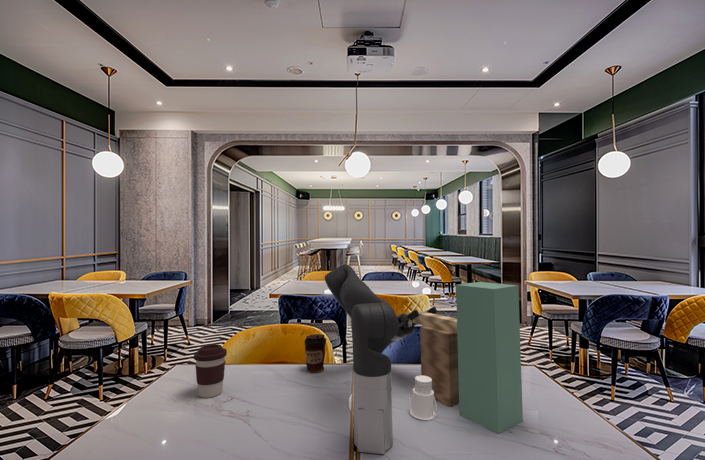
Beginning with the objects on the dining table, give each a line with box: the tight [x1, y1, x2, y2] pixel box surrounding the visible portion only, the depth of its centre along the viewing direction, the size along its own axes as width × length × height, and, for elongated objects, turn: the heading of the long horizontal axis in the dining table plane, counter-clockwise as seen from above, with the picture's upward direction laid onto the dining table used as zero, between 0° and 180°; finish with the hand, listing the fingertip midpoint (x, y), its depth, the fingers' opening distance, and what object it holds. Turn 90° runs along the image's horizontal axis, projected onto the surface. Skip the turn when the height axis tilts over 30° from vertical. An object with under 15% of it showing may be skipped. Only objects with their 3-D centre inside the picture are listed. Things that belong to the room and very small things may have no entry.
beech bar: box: [412, 310, 457, 334], centre depth 111 cm, size 19×4×4 cm, turn 34°
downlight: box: [408, 374, 438, 421], centre depth 97 cm, size 8×7×10 cm
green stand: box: [455, 281, 524, 434], centre depth 96 cm, size 12×11×36 cm
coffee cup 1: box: [193, 343, 228, 399], centre depth 113 cm, size 10×10×15 cm
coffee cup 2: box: [304, 333, 327, 374], centre depth 133 cm, size 9×8×13 cm
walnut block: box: [419, 325, 459, 408], centre depth 109 cm, size 12×8×21 cm
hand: (426, 311), depth 115 cm, fingers open, 8 cm apart
